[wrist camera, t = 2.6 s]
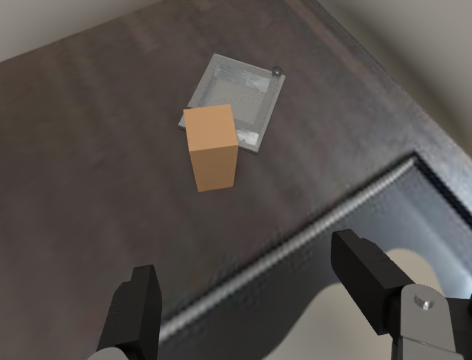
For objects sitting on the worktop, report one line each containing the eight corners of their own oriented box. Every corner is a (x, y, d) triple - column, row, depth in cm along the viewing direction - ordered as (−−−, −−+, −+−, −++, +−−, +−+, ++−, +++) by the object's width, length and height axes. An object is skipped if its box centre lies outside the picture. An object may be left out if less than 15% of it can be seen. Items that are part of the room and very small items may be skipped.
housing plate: (256, 155, 34) (259, 144, 32) (179, 128, 35) (176, 116, 32) (284, 80, 38) (288, 66, 36) (214, 58, 39) (214, 42, 37)
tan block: (233, 186, 32) (238, 144, 23) (198, 192, 32) (189, 151, 23) (227, 155, 34) (229, 103, 25) (193, 160, 33) (183, 109, 24)
